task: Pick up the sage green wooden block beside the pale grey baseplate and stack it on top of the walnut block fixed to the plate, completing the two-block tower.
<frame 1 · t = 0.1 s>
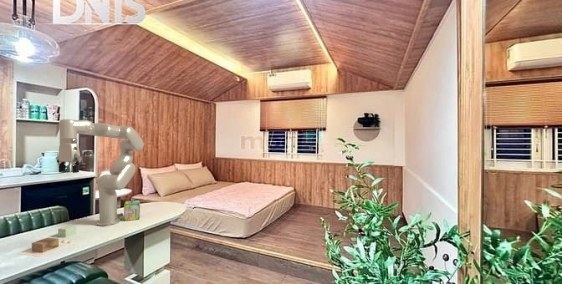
hand: (68, 172, 141), 37 cm above the table, tool pointing down, fingers open, 9 cm apart
chalk box: (132, 218, 173), on the table
snap baseplate: (50, 249, 126), on the table
walnut block: (45, 248, 124), resting on snap baseplate
sage block: (67, 237, 142), on the table
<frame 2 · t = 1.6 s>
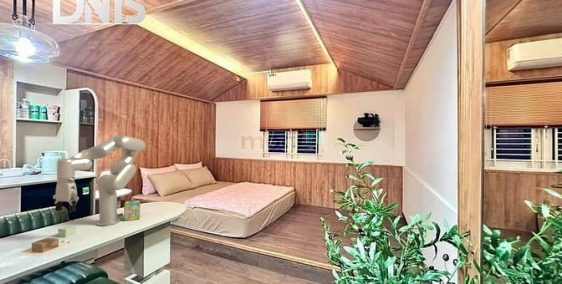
hand: (65, 211, 141), 15 cm above the table, tool pointing down, fingers open, 9 cm apart
nothing on the table moved.
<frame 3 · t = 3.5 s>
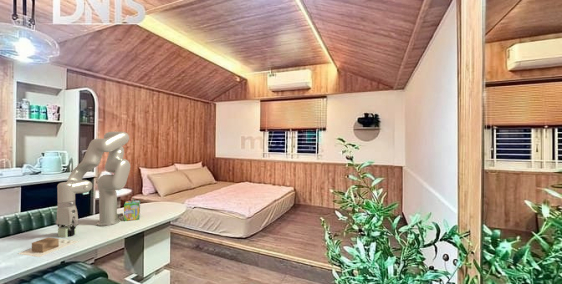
hand: (67, 235, 142), 1 cm above the table, tool pointing down, fingers closed on sage block, 5 cm apart
sage block: (67, 236, 142), on the table, touching gripper
everything else where it was.
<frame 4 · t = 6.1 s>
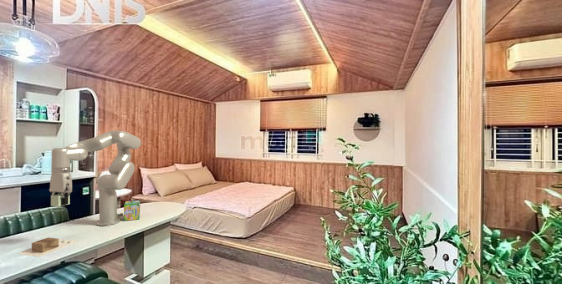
hand: (60, 203, 136), 20 cm above the table, tool pointing down, fingers closed on sage block, 5 cm apart
sage block: (60, 204, 136), point 19 cm above the table, touching gripper
everything else where it was.
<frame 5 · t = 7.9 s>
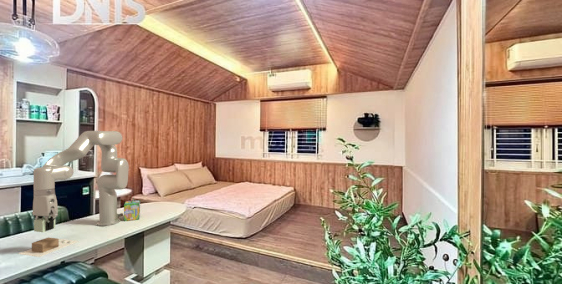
hand: (45, 228, 124), 11 cm above the table, tool pointing down, fingers closed on sage block, 5 cm apart
sage block: (44, 229, 124), point 11 cm above the table, touching gripper
everything else where it was.
when the fingers open (7 cm above the table, at t = 9.1 s): sage block drops 1 cm, resting on walnut block.
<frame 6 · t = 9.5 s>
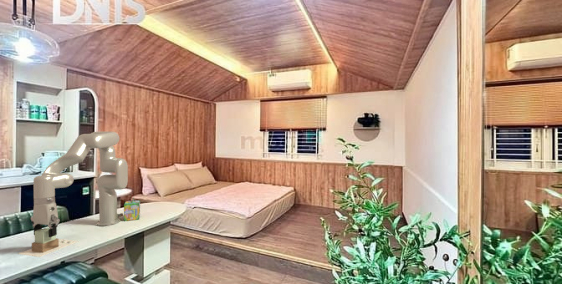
hand: (45, 235, 124), 8 cm above the table, tool pointing down, fingers open, 9 cm apart
sage block: (45, 240, 124), point 5 cm above the table, touching walnut block
everything else where it was.
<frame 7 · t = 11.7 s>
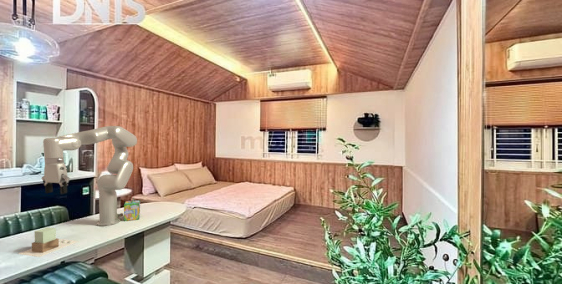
hand: (56, 193, 134), 26 cm above the table, tool pointing down, fingers open, 9 cm apart
nothing on the table moved.
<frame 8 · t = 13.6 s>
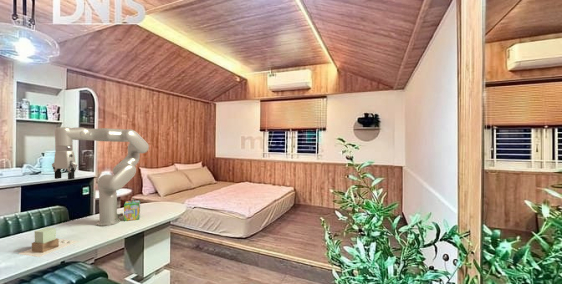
hand: (64, 178, 144), 32 cm above the table, tool pointing down, fingers open, 9 cm apart
nothing on the table moved.
at the end: sage block 0.0 cm off-centre on the walnut block, point 4.0 cm above the walnut block's base; sage block tilted 0°; the gripper is holding nothing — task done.
